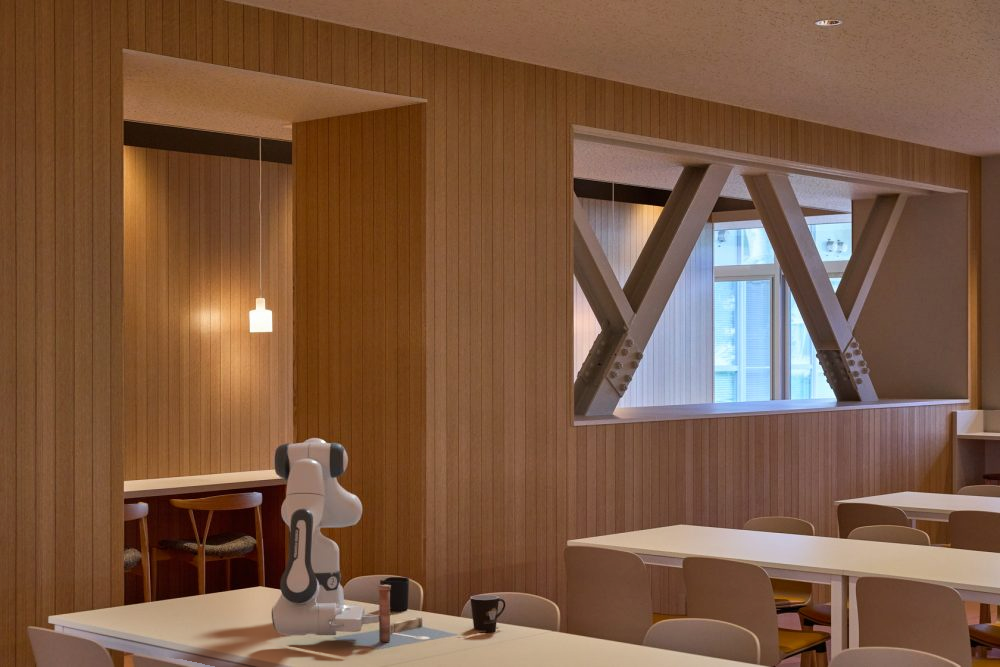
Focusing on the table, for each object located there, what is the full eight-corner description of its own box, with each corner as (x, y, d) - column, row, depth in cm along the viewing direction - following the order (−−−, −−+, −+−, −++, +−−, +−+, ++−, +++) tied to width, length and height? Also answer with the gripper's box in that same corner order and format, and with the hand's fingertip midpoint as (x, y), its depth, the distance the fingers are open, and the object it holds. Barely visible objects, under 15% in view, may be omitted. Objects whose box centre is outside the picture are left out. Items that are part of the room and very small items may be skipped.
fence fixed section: (389, 634, 363) (389, 625, 364) (383, 633, 365) (383, 624, 365) (424, 626, 375) (424, 618, 375) (418, 625, 376) (418, 617, 377)
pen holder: (376, 608, 410) (376, 578, 410) (403, 606, 414) (403, 576, 414) (385, 613, 402) (385, 582, 402) (413, 611, 405) (413, 580, 406)
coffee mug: (474, 634, 366) (474, 600, 366) (467, 629, 374) (467, 595, 375) (512, 632, 369) (512, 598, 369) (504, 627, 377) (504, 593, 378)
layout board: (332, 640, 359) (332, 637, 359) (411, 626, 378) (411, 623, 378) (378, 652, 343) (378, 648, 343) (458, 637, 362) (458, 634, 362)
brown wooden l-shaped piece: (382, 633, 363) (382, 579, 364) (395, 633, 363) (394, 579, 364) (377, 642, 350) (377, 586, 351) (390, 642, 350) (390, 586, 351)
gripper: (327, 614, 341) (377, 613, 341) (332, 601, 361) (380, 601, 362) (326, 637, 340) (377, 637, 341) (332, 623, 361) (380, 623, 361)
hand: (379, 618), depth 352 cm, fingers closed
